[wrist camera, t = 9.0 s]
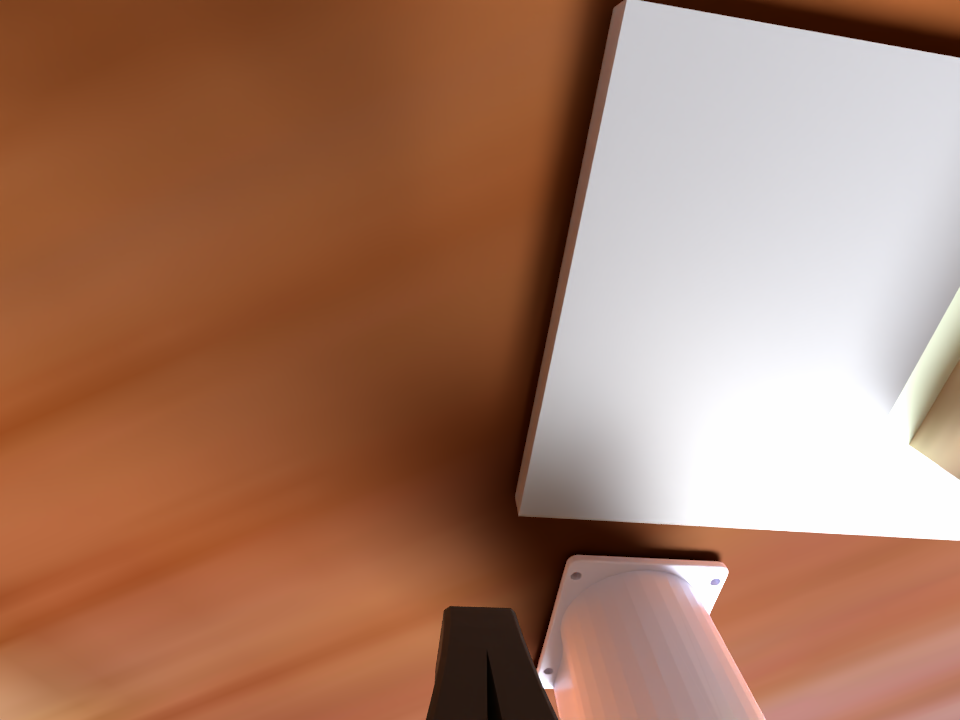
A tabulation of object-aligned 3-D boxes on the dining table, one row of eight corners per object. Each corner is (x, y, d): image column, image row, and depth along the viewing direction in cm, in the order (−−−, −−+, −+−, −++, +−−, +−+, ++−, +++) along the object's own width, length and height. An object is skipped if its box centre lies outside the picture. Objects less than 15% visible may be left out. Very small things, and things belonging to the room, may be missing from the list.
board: (1060, 529, 25) (1088, 547, 24) (514, 496, 22) (518, 515, 21) (1375, 142, 17) (1436, 143, 16) (613, 7, 14) (627, -3, 13)
